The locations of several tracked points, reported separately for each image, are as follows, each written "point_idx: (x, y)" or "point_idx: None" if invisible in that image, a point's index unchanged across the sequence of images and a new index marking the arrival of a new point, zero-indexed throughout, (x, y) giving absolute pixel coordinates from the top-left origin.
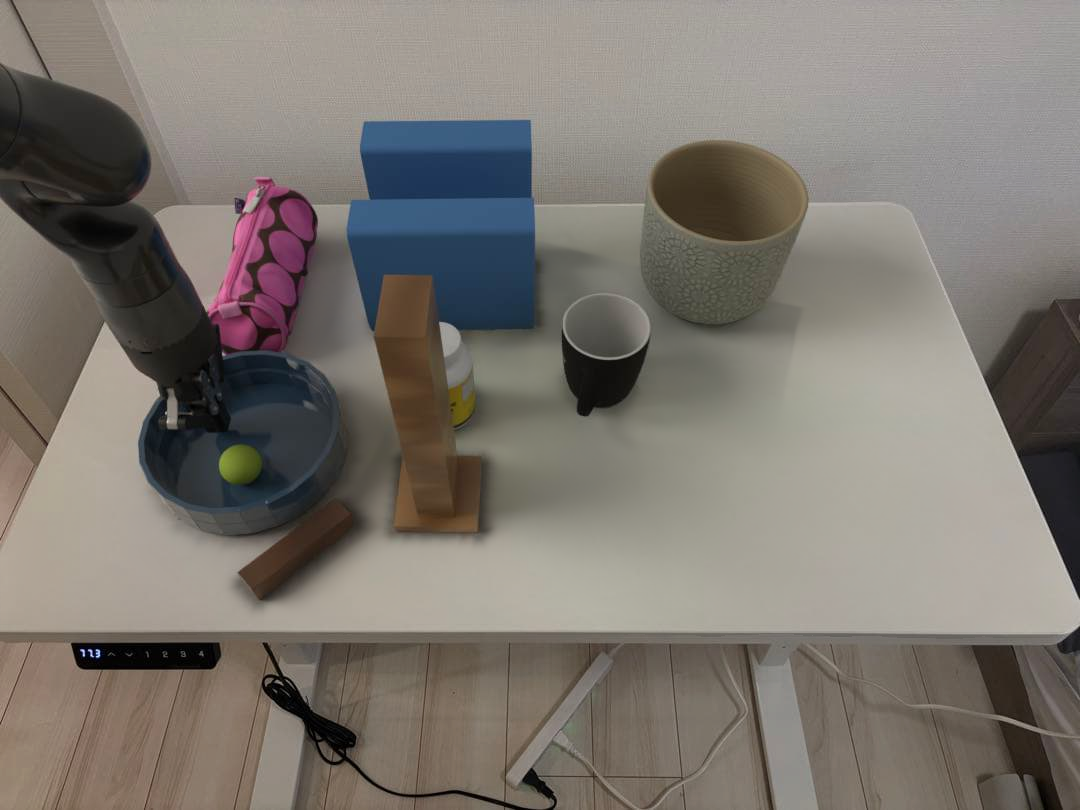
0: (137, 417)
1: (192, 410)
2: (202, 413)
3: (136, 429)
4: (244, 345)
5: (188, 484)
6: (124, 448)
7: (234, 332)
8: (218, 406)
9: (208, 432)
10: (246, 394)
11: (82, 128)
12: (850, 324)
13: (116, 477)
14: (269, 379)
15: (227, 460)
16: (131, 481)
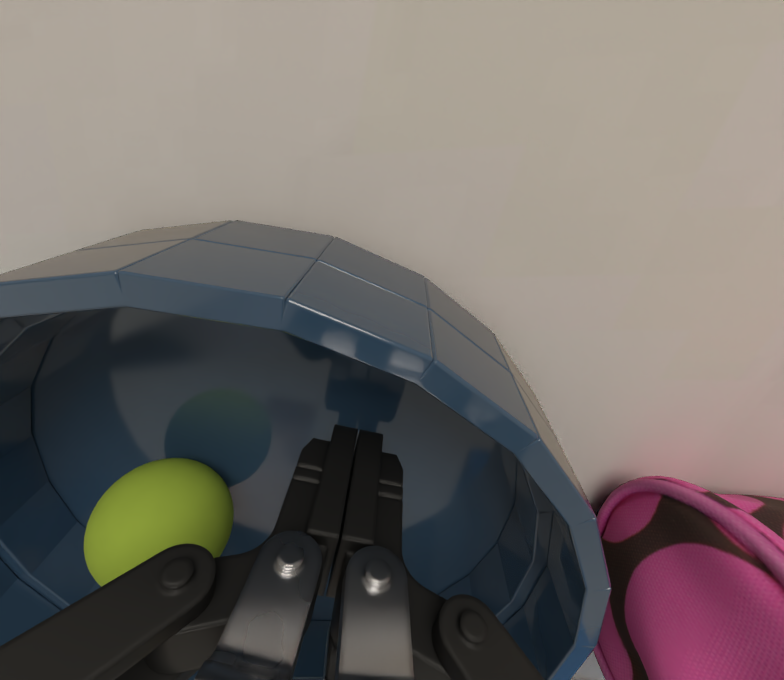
0: (528, 110)
1: (213, 633)
2: (187, 666)
3: (459, 110)
4: (641, 606)
5: (156, 335)
6: (364, 55)
7: (714, 655)
8: (319, 595)
9: (308, 443)
10: (481, 487)
11: None
12: None
13: (207, 25)
14: (503, 553)
15: (103, 563)
16: (187, 106)
